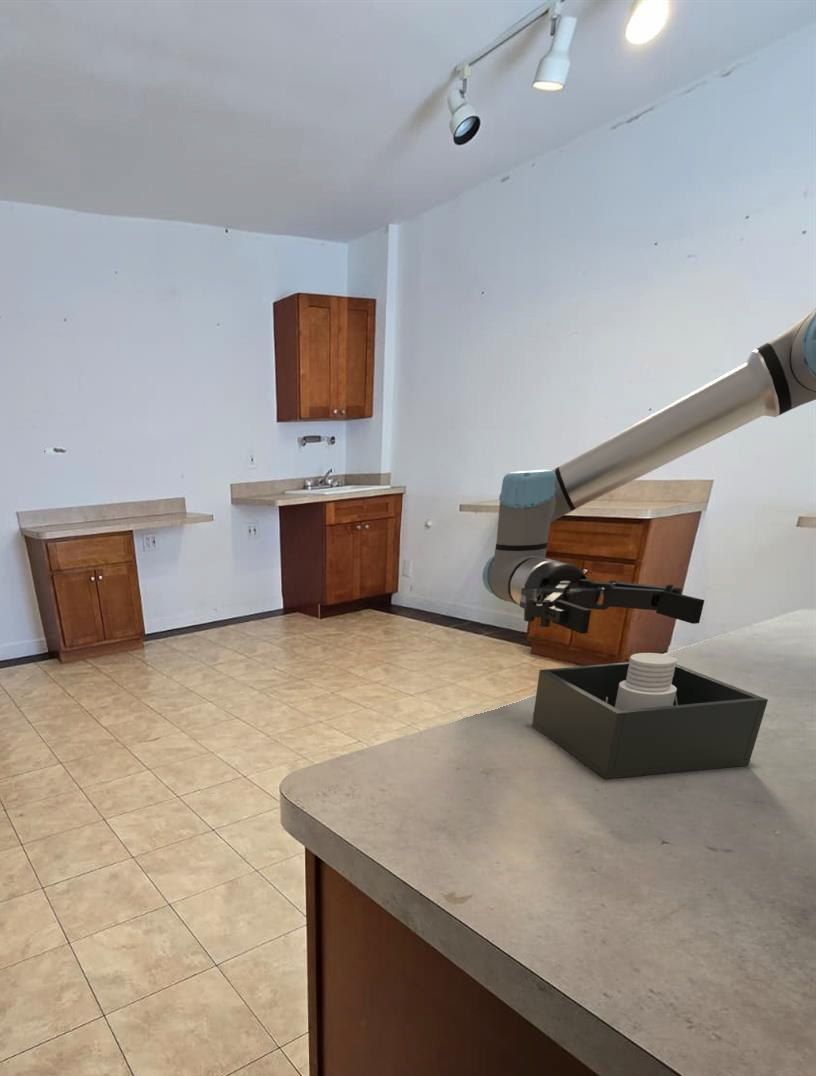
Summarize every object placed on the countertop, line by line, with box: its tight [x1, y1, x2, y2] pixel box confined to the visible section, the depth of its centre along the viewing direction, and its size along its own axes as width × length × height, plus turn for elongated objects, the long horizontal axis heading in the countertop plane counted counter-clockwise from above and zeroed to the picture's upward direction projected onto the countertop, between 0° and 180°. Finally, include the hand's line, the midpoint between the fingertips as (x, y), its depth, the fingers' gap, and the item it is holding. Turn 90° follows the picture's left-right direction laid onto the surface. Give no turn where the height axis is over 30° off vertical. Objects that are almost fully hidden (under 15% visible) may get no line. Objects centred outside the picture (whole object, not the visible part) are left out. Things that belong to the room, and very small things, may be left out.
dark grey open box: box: [531, 661, 769, 780], centre depth 77 cm, size 17×17×8 cm
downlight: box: [606, 652, 678, 711], centre depth 76 cm, size 8×7×10 cm
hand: (642, 617), depth 74 cm, fingers open, 13 cm apart
